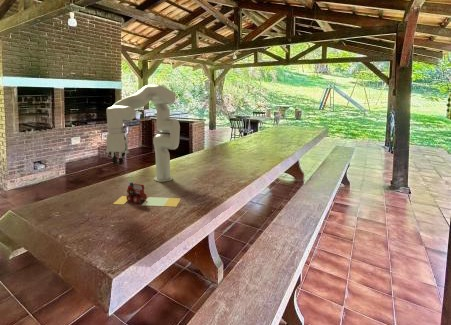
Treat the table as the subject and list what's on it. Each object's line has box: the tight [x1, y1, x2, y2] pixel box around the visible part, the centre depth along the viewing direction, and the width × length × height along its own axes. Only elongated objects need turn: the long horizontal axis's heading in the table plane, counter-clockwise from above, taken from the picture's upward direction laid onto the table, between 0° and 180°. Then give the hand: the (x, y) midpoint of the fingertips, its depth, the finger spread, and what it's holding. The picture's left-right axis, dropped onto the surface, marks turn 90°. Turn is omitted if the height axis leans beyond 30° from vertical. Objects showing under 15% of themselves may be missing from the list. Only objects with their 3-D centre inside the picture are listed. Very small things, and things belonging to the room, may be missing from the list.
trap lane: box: [112, 195, 182, 208], centre depth 163 cm, size 12×35×1 cm, turn 86°
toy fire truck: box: [126, 182, 148, 204], centre depth 162 cm, size 7×12×10 cm, turn 61°
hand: (118, 163), depth 158 cm, fingers open, 2 cm apart
